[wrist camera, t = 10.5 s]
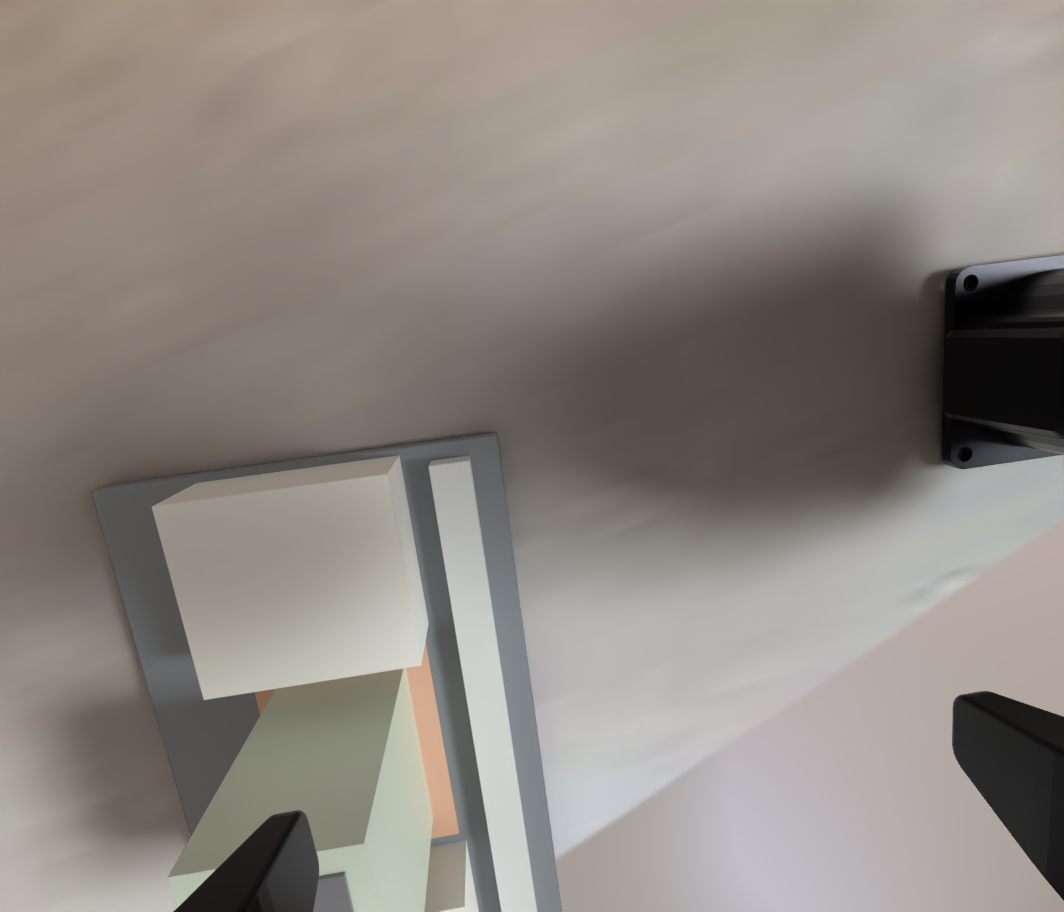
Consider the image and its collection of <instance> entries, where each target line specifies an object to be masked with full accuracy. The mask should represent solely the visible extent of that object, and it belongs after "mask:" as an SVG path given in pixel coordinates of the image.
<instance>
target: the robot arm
mask: <svg viewBox="0 0 1064 912" xmlns="http://www.w3.org/2000/svg"><path fill="white" fill-rule="evenodd" d="M965 278H967V279H968V286H967V288H966V289H964V286H963V282H964V279H965ZM961 448H962V449H963V452H962V455H961V456H960V457H959V458H958V453H959V451H960V450H961ZM1056 455H1064V255H1058V256H1050V257H1042V258H1034V259H1026V260H1018V261H1010V262H1002V263H994V264H986V265H978V266H970V267H963V268H959V269H956V270H954V271H953V272H952V273H951V274H950V275H949V277H948V279H947V282H946V296H945V336H944V376H943V417H942V459H943V461H944V462H945V464H947V465H949V466H952V467H955V468H959V469H968V468H975V467H981V466H988V465H995V464H1002V463H1009V462H1015V461H1022V460H1029V459H1036V458H1043V457H1050V456H1056ZM952 746H953V751H954V754H955V757H956V759H957V761H958V763H959V765H960V766H961V768H962V769H963V771H964V772H965V773H966V775H967V776H968V777H969V778H970V780H971V781H972V783H973V784H974V785H975V786H976V788H977V789H978V791H979V792H980V793H981V795H982V796H983V797H984V799H985V800H986V801H987V803H988V804H989V805H990V807H991V808H992V809H993V810H994V812H995V813H996V814H997V816H998V817H999V819H1000V820H1001V821H1002V823H1003V824H1004V825H1005V827H1006V828H1007V829H1008V831H1009V832H1010V833H1011V835H1012V836H1013V837H1014V839H1015V840H1016V841H1017V842H1018V844H1019V845H1020V847H1021V848H1022V849H1023V851H1024V852H1025V853H1026V855H1027V856H1028V857H1029V858H1030V860H1031V861H1032V862H1033V864H1034V865H1035V866H1036V867H1037V869H1038V870H1039V871H1040V873H1041V874H1042V875H1043V876H1044V878H1045V879H1046V880H1047V881H1048V882H1049V884H1050V885H1051V886H1052V887H1053V888H1054V890H1055V891H1056V892H1057V893H1058V894H1059V895H1060V897H1061V898H1062V899H1063V900H1064V717H1063V716H1059V715H1057V714H1054V713H1051V712H1048V711H1045V710H1042V709H1039V708H1036V707H1033V706H1030V705H1028V704H1024V703H1021V702H1019V701H1016V700H1013V699H1010V698H1007V697H1004V696H1001V695H998V694H996V693H993V692H989V691H979V692H974V693H968V694H962V695H959V696H958V697H956V698H955V700H954V702H953V731H952ZM318 881H319V860H318V856H317V852H316V848H315V844H314V841H313V837H312V833H311V829H310V825H309V822H308V818H307V816H306V814H305V813H304V812H303V811H301V810H295V811H289V812H283V813H277V814H274V815H272V816H270V817H269V818H268V819H267V820H265V821H264V822H263V823H262V824H261V825H260V826H259V827H258V828H257V829H256V830H255V831H254V832H253V833H252V834H251V835H250V836H249V837H248V838H247V839H246V840H245V841H244V842H243V843H242V844H241V845H240V846H239V847H238V848H237V849H236V850H235V851H234V852H233V853H232V854H231V855H230V856H229V857H228V858H227V859H226V860H225V861H224V862H223V863H222V864H221V865H220V866H219V867H218V868H217V869H216V870H215V871H214V872H213V873H212V874H211V875H210V876H209V877H208V878H207V879H206V880H205V881H204V882H203V883H202V884H201V885H200V886H199V887H198V888H197V889H196V890H195V891H194V892H193V893H192V894H191V895H190V896H189V897H188V898H187V899H186V900H185V901H184V902H183V903H182V904H181V905H180V906H179V907H178V908H177V909H176V910H175V911H174V912H313V911H314V905H315V899H316V893H317V887H318Z"/></svg>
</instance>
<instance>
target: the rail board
mask: <svg viewBox="0 0 1064 912" xmlns="http://www.w3.org/2000/svg"><path fill="white" fill-rule="evenodd" d="M91 493H92V497H93V500H94V504H95V507H96V510H97V514H98V517H99V521H100V524H101V528H102V531H103V534H104V538H105V541H106V545H107V548H108V552H109V555H110V559H111V562H112V565H113V569H114V572H115V576H116V579H117V583H118V586H119V589H120V593H121V596H122V600H123V603H124V607H125V610H126V614H127V617H128V620H129V624H130V627H131V631H132V634H133V638H134V641H135V644H136V648H137V651H138V655H139V658H140V662H141V665H142V668H143V672H144V675H145V679H146V682H147V686H148V689H149V693H150V696H151V699H152V703H153V706H154V710H155V713H156V717H157V720H158V723H159V727H160V730H161V734H162V737H163V741H164V744H165V748H166V751H167V754H168V758H169V761H170V765H171V768H172V772H173V775H174V778H175V782H176V785H177V789H178V792H179V796H180V799H181V803H182V806H183V809H184V813H185V816H186V820H187V823H188V827H189V830H190V833H191V836H192V834H193V832H194V831H195V829H196V827H197V825H198V824H199V822H200V820H201V818H202V817H203V815H204V813H205V811H206V810H207V808H208V806H209V804H210V803H211V801H212V799H213V797H214V796H215V794H216V792H217V791H218V789H219V787H220V785H221V784H222V782H223V780H224V778H225V777H226V775H227V773H228V771H229V770H230V768H231V766H232V764H233V763H234V761H235V759H236V757H237V756H238V754H239V752H240V750H241V749H242V747H243V745H244V743H245V742H246V740H247V738H248V736H249V735H250V733H251V731H252V729H253V728H254V726H255V724H256V722H257V721H258V719H259V717H260V715H261V714H262V712H263V710H264V708H265V707H266V705H267V703H268V701H269V700H270V698H271V696H272V695H273V693H274V691H275V689H277V688H283V687H289V686H296V685H302V684H308V683H315V682H321V681H327V680H334V679H340V678H346V677H353V676H359V675H365V674H371V673H378V672H384V671H390V670H397V669H403V668H406V672H407V678H408V683H409V689H410V694H411V700H412V705H413V711H414V716H415V722H416V727H417V732H418V738H419V743H420V749H421V754H422V760H423V765H424V771H425V776H426V782H427V787H428V793H429V798H430V804H431V809H432V815H433V825H432V835H431V846H430V856H429V867H428V878H427V888H426V899H425V909H424V912H562V908H561V900H560V893H559V885H558V878H557V871H556V864H555V856H554V849H553V842H552V834H551V827H550V820H549V813H548V805H547V798H546V791H545V783H544V776H543V769H542V762H541V754H540V747H539V740H538V732H537V725H536V718H535V711H534V703H533V696H532V689H531V682H530V674H529V667H528V660H527V652H526V645H525V638H524V631H523V623H522V616H521V609H520V601H519V594H518V587H517V580H516V572H515V565H514V558H513V550H512V543H511V536H510V529H509V521H508V514H507V507H506V499H505V492H504V485H503V478H502V470H501V463H500V456H499V449H498V441H497V434H496V432H494V433H487V434H479V435H472V436H465V437H457V438H450V439H442V440H435V441H428V442H420V443H413V444H406V445H398V446H391V447H384V448H376V449H369V450H361V451H354V452H347V453H339V454H332V455H325V456H317V457H310V458H302V459H295V460H288V461H280V462H273V463H266V464H258V465H251V466H244V467H236V468H229V469H221V470H214V471H207V472H199V473H192V474H185V475H177V476H170V477H163V478H155V479H148V480H140V481H133V482H126V483H118V484H111V485H104V486H101V487H99V488H96V489H94V490H91Z"/></svg>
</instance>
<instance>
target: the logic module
mask: <svg viewBox="0 0 1064 912" xmlns="http://www.w3.org/2000/svg"><path fill="white" fill-rule="evenodd" d="M295 810H301V811H303V812H304V813H305V814H306V816H307V818H308V822H309V825H310V829H311V833H312V837H313V841H314V844H315V848H316V852H317V856H318V860H319V881H318V887H317V893H316V899H315V905H314V911H313V912H424V909H425V899H426V888H427V878H428V867H429V856H430V846H431V835H432V825H433V815H432V809H431V804H430V798H429V793H428V787H427V782H426V776H425V771H424V765H423V760H422V754H421V749H420V743H419V738H418V732H417V727H416V722H415V716H414V711H413V705H412V700H411V694H410V689H409V683H408V678H407V672H406V668H403V669H397V670H390V671H384V672H378V673H371V674H365V675H359V676H353V677H346V678H340V679H334V680H327V681H321V682H315V683H308V684H302V685H296V686H289V687H283V688H277V689H275V691H274V693H273V695H272V696H271V698H270V700H269V701H268V703H267V705H266V707H265V708H264V710H263V712H262V714H261V715H260V717H259V719H258V721H257V722H256V724H255V726H254V728H253V729H252V731H251V733H250V735H249V736H248V738H247V740H246V742H245V743H244V745H243V747H242V749H241V750H240V752H239V754H238V756H237V757H236V759H235V761H234V763H233V764H232V766H231V768H230V770H229V771H228V773H227V775H226V777H225V778H224V780H223V782H222V784H221V785H220V787H219V789H218V791H217V792H216V794H215V796H214V797H213V799H212V801H211V803H210V804H209V806H208V808H207V810H206V811H205V813H204V815H203V817H202V818H201V820H200V822H199V824H198V825H197V827H196V829H195V831H194V832H193V834H192V836H191V838H190V839H189V841H188V843H187V845H186V846H185V848H184V850H183V852H182V853H181V855H180V857H179V859H178V860H177V862H176V864H175V866H174V867H173V869H172V871H171V873H170V874H169V876H168V880H169V884H170V887H171V890H172V894H173V897H174V900H175V904H176V907H177V908H178V907H179V906H180V905H181V904H182V903H183V902H184V901H185V900H186V899H187V898H188V897H189V896H190V895H191V894H192V893H193V892H194V891H195V890H196V889H197V888H198V887H199V886H200V885H201V884H202V883H203V882H204V881H205V880H206V879H207V878H208V877H209V876H210V875H211V874H212V873H213V872H214V871H215V870H216V869H217V868H218V867H219V866H220V865H221V864H222V863H223V862H224V861H225V860H226V859H227V858H228V857H229V856H230V855H231V854H232V853H233V852H234V851H235V850H236V849H237V848H238V847H239V846H240V845H241V844H242V843H243V842H244V841H245V840H246V839H247V838H248V837H249V836H250V835H251V834H252V833H253V832H254V831H255V830H256V829H257V828H258V827H259V826H260V825H261V824H262V823H263V822H264V821H265V820H267V819H268V818H269V817H270V816H272V815H274V814H277V813H283V812H289V811H295Z"/></svg>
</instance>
